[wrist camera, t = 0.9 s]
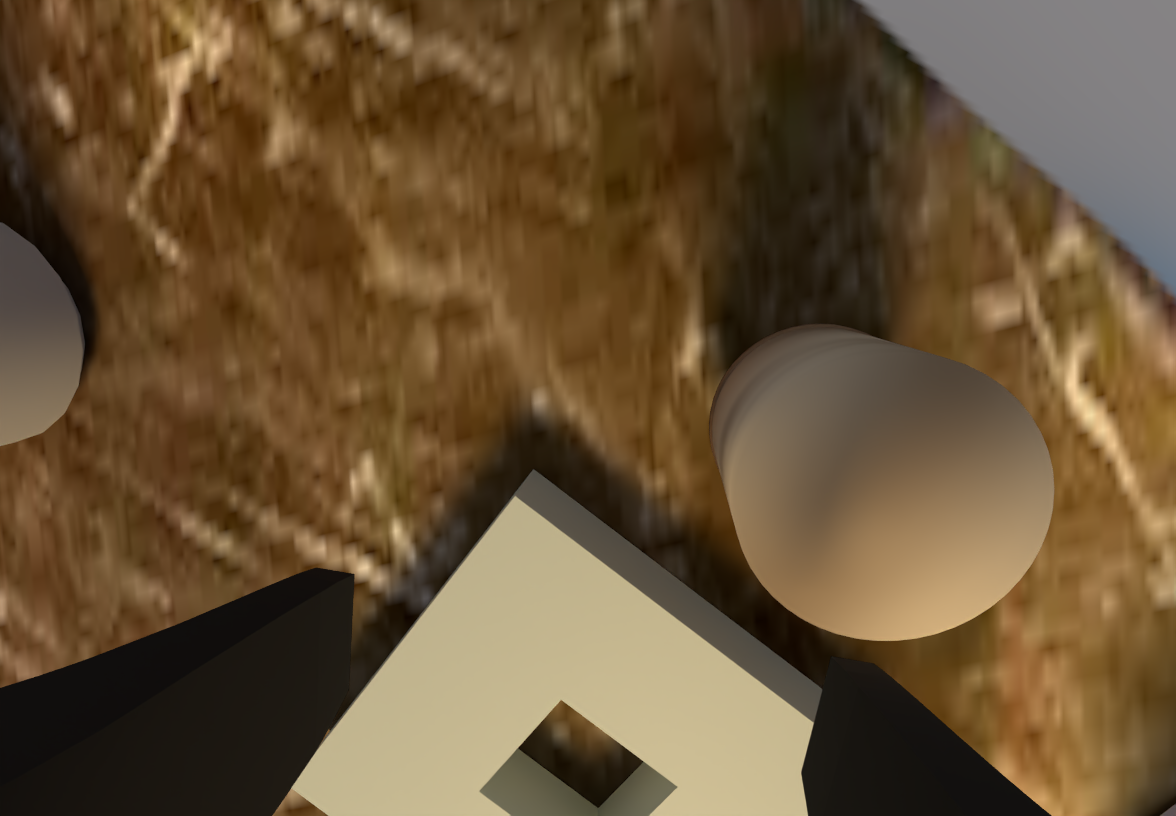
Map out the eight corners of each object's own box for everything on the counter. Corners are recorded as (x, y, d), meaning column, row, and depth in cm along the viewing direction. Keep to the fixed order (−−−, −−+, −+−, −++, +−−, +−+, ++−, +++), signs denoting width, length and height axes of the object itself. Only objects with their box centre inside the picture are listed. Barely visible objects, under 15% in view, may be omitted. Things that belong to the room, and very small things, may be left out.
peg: (929, 393, 18) (1131, 483, 10) (804, 526, 19) (898, 697, 11) (784, 279, 18) (877, 282, 10) (667, 421, 19) (669, 522, 11)
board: (877, 730, 20) (905, 792, 18) (630, 954, 23) (626, 1033, 21) (533, 468, 20) (514, 495, 17) (328, 732, 23) (289, 786, 20)
